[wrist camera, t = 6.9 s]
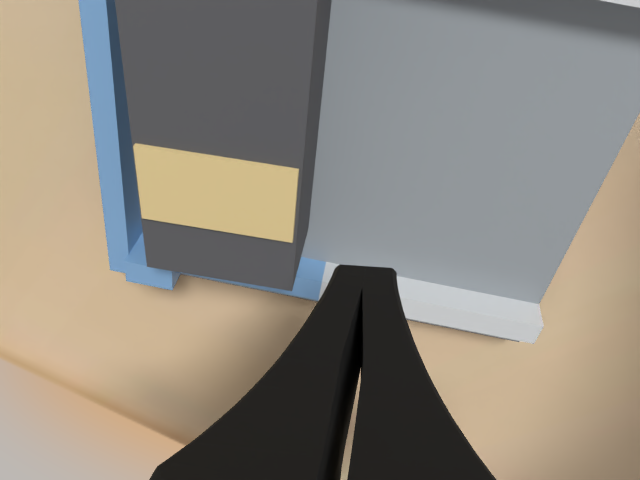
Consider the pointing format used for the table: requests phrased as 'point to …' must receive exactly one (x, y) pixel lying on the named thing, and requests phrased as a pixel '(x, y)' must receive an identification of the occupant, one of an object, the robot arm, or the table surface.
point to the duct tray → (429, 149)
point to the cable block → (225, 131)
